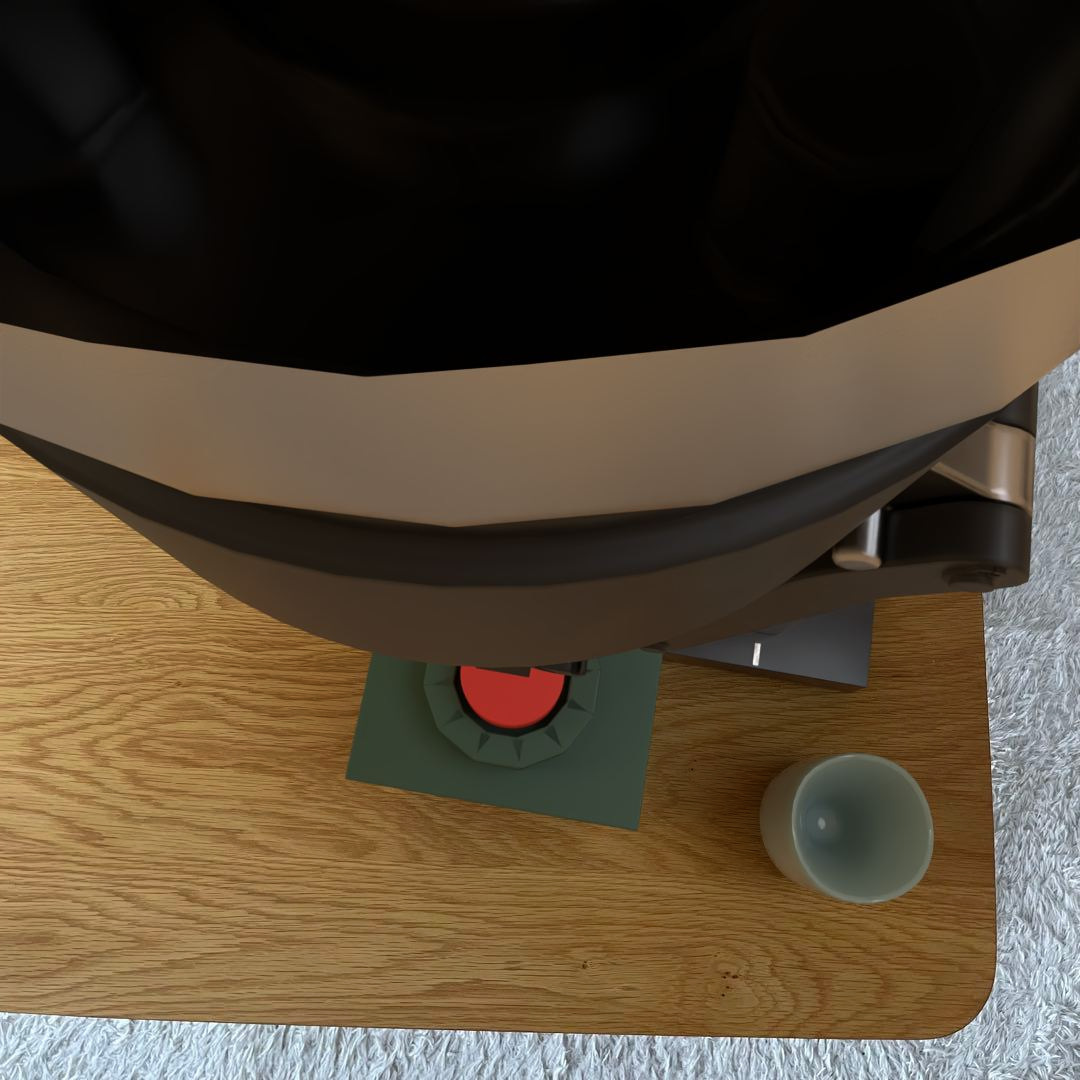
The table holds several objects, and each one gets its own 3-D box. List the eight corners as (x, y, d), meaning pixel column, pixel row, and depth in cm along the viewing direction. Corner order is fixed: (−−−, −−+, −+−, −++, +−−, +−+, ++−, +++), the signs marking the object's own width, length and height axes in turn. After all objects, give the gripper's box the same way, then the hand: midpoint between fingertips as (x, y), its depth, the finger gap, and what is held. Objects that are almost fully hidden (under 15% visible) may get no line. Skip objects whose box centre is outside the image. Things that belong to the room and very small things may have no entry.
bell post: (619, 660, 64) (678, 581, 41) (595, 819, 61) (643, 833, 38) (435, 628, 64) (390, 531, 41) (404, 785, 62) (336, 778, 38)
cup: (738, 762, 62) (779, 756, 53) (860, 754, 63) (923, 746, 53) (753, 893, 60) (799, 911, 51) (879, 883, 61) (948, 900, 51)
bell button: (569, 638, 40) (572, 631, 39) (553, 737, 39) (555, 734, 38) (472, 621, 40) (470, 613, 39) (453, 719, 39) (451, 715, 38)
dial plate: (866, 529, 66) (883, 516, 63) (851, 693, 64) (868, 687, 61) (659, 494, 67) (666, 479, 64) (635, 655, 64) (642, 648, 61)
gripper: (1782, -561, 5) (759, 535, 28) (-506, -897, 6) (311, 458, 29) (2083, 850, 4) (727, 804, 26) (-1351, 253, 4) (247, 719, 27)
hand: (511, 624), depth 27 cm, fingers closed
